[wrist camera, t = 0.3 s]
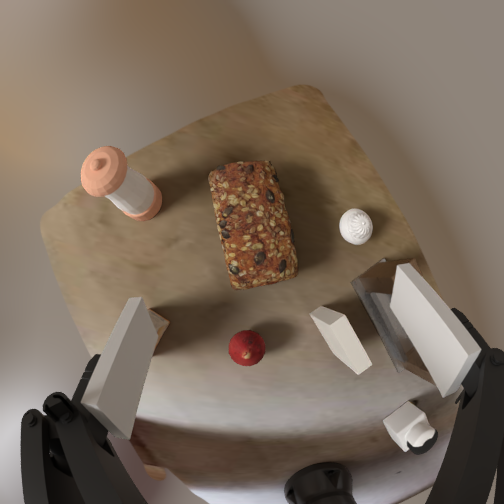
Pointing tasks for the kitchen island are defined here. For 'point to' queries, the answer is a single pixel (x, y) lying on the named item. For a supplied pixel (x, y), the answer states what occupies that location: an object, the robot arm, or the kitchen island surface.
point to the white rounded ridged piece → (356, 226)
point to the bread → (253, 224)
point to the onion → (247, 348)
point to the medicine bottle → (411, 429)
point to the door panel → (341, 338)
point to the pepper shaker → (120, 183)
